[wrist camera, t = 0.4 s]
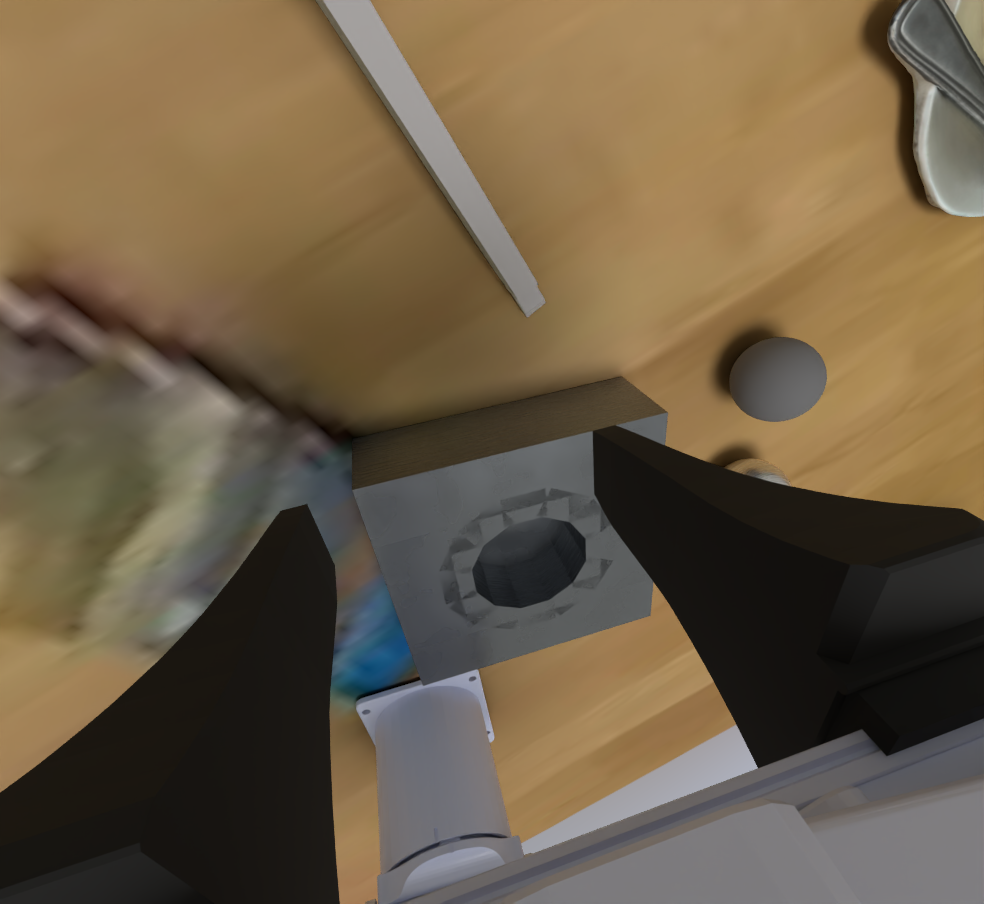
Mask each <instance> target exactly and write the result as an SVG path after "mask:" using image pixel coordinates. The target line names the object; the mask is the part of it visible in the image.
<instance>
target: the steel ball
mask: <svg viewBox="0 0 984 904" xmlns="http://www.w3.org/2000/svg"><path fill="white" fill-rule="evenodd" d="M724 468H726V469H729V470H732V471H735V472H738V473H742V474H745V475H749V476H752V477H756V478H760V479H763V480H767V481H771V482H774V483H779V484H783V485H787V486H791V483H790V481H789V479H788V478H787V476H786V475H785V474H784V472H783V471H782V470H780V469H779V468H778V467H777V466H775V465H773V464H772V463H769V462H767V461H764V460H760V459H742V460H738V461H735V462H732V463H730V464H729V465H727V466H725V467H724ZM791 487H792V486H791Z"/></svg>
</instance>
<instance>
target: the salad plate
mask: <svg viewBox="0 0 984 904" xmlns="http://www.w3.org/2000/svg"><path fill="white" fill-rule="evenodd" d="M887 37H888V44H889V47H890V49H891V51H892V52H893V53H894V54H895V56H896V58H897V59H898V60H899V61H900V62H901V63H902V64H903V65H904V66H905V68H906V69H907V71H908V72H909V73H910V74H911V75H912V77H913V86H914V136H913V153H914V158H915V161H916V164H917V167H918V172H919V175H920V177H921V180H922V182H923V185H924V189H925V193H926V198H927V200H928V202H929V203H930V204H931V205H932V206H935V207H938V208H940V209H942V210H943V211H945V212H946V213H948V214H952V215H957V216H965V217H977V216H980V217H981V216H984V0H902V2H901V3H900V4H899V6H898V7H897V9H896V10H895V12H894V14H893V16H892V18H891V20H890V22H889V28H888V34H887Z"/></svg>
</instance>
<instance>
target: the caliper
mask: <svg viewBox="0 0 984 904" xmlns="http://www.w3.org/2000/svg"><path fill="white" fill-rule="evenodd" d="M316 2H317V4H318V5H319V7H320V8H321V10H322V11H323V13H324V14H325V16H326V17H327V19H328V20H329V22H330V23H331V25H332V26H333V28H334V29H335V31H336V32H337V34H338V35H339V37H340V38H341V40H342V41H343V43H344V44H345V46H346V47H347V49H348V50H349V52H350V53H351V55H352V56H353V58H354V59H355V61H356V62H357V64H358V66H359V67H360V69H361V70H362V72H363V73H364V75H365V76H366V78H367V79H368V81H369V82H370V84H371V85H372V87H373V88H374V90H375V91H376V93H377V94H378V96H379V97H380V99H381V100H382V102H383V103H384V105H385V106H386V108H387V109H388V111H389V112H390V114H391V115H392V117H393V118H394V120H395V121H396V123H397V124H398V126H399V127H400V129H401V131H402V132H403V134H404V135H405V137H406V138H407V140H408V141H409V143H410V144H411V146H412V147H413V149H414V150H415V152H416V153H417V155H418V156H419V158H420V159H421V161H422V162H423V164H424V165H425V167H426V168H427V170H428V171H429V173H430V174H431V176H432V177H433V179H434V180H435V182H436V184H437V185H438V187H439V188H440V190H441V191H442V193H443V194H444V196H445V197H446V199H447V200H448V202H449V203H450V205H451V206H452V208H453V209H454V211H455V212H456V214H457V215H458V217H459V218H460V220H461V221H462V223H463V224H464V226H465V227H466V229H467V230H468V232H469V234H470V235H471V237H472V238H473V240H474V241H475V243H476V244H477V246H478V247H479V249H480V250H481V252H482V253H483V255H484V256H485V258H486V259H487V261H488V262H489V264H490V265H491V267H492V268H493V269H494V271H495V272H496V274H497V275H498V277H499V278H500V280H501V281H502V282H503V284H504V285H505V287H506V288H507V290H508V291H509V292H510V293H511V295H512V296H513V298H514V299H515V301H516V302H517V304H518V305H519V307H520V308H521V310H522V311H523V313H524V314H525V316H526V317H527V318H528V317H529V316H530V315H531V314H532V313H534V312H535V311H536V310H537V309H539V308H540V307H541V306H542V305H543V304H545V303H546V302H545V299H544V297H543V296H542V294H541V292H540V291H539V289H538V287H537V285H538V283H537V281H536V280H535V278H534V276H533V274H532V273H531V271H530V269H529V268H528V266H527V264H526V263H525V261H524V259H523V258H522V256H521V254H520V253H519V251H518V249H517V247H516V246H515V244H514V242H513V241H512V239H511V237H510V236H509V234H508V232H507V231H506V229H505V227H504V226H503V224H502V222H501V220H500V219H499V217H498V215H497V214H496V212H495V210H494V209H493V207H492V205H491V204H490V202H489V200H488V199H487V197H486V195H485V194H484V192H483V190H482V188H481V187H480V185H479V183H478V182H477V180H476V178H475V177H474V175H473V173H472V172H471V170H470V168H469V167H468V165H467V163H466V161H465V160H464V158H463V156H462V155H461V153H460V151H459V150H458V148H457V146H456V145H455V143H454V141H453V140H452V138H451V136H450V135H449V133H448V131H447V130H446V128H445V126H444V124H443V123H442V121H441V119H440V118H439V116H438V114H437V113H436V111H435V109H434V108H433V106H432V104H431V103H430V101H429V99H428V98H427V96H426V94H425V92H424V91H423V89H422V87H421V86H420V84H419V82H418V81H417V79H416V77H415V76H414V74H413V72H412V71H411V69H410V67H409V66H408V64H407V62H406V61H405V59H404V57H403V55H402V54H401V52H400V50H399V49H398V47H397V45H396V44H395V42H394V40H393V39H392V37H391V35H390V34H389V32H388V30H387V29H386V27H385V25H384V23H383V22H382V20H381V18H380V17H379V15H378V13H377V12H376V10H375V8H374V7H373V5H372V3H371V2H370V0H316Z"/></svg>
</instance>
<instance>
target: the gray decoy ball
mask: <svg viewBox="0 0 984 904" xmlns="http://www.w3.org/2000/svg"><path fill="white" fill-rule="evenodd" d="M826 380H827V374H826V367H825V364H824V361H823V359H822V358H821V356H820V355H819V353H818V352H817V351H816V350H815V349H814V348H813V347H811V346H810V345H808V344H807V343H805V342H803V341H800V340H797V339H794V338H787V337H776V338H770V339H766V340H763V341H760V342H758V343H756V344H754V345H752V346H751V347H749V348H748V349H746V350H745V351H744V352H743V353H742V354H741V355H740V356H739V357H738V359H737V360H736V362H735V363H734V365H733V367H732V370H731V373H730V379H729V387H730V392H731V395H732V398H733V399H734V401H735V403H736V404H737V405H738V407H739V408H740V409H741V410H742V411H744V412H745V413H746V414H748V415H750V416H752V417H754V418H756V419H759V420H763V421H770V422H778V421H785V420H790V419H793V418H796V417H798V416H800V415H802V414H804V413H805V412H807V411H808V410H809V409H811V408H812V407H813V406H814V405H815V404H816V403H817V401H818V400H819V399H820V397H821V395H822V394H823V391H824V389H825V385H826Z"/></svg>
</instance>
